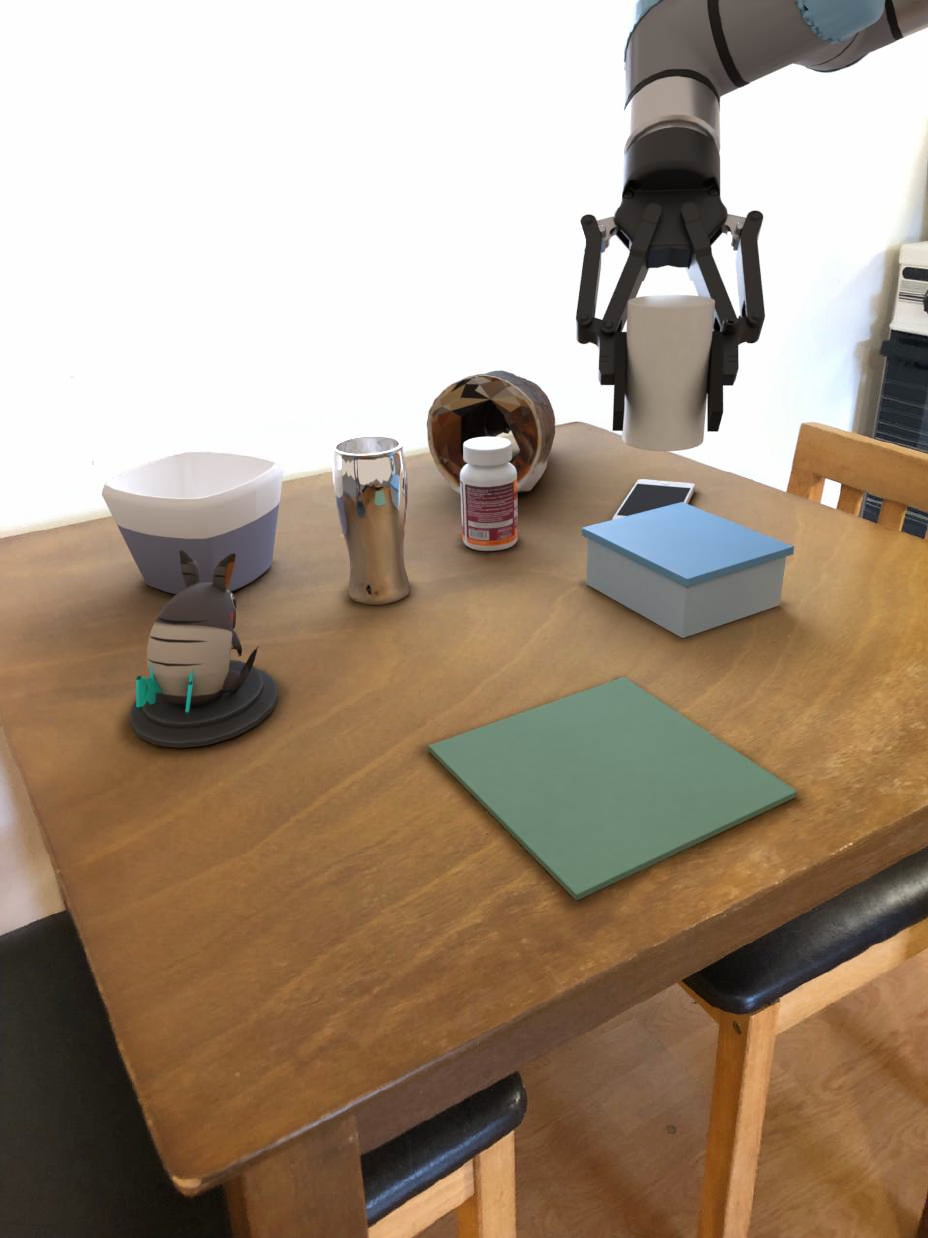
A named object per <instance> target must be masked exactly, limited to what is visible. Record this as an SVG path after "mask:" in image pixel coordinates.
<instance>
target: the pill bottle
mask: <svg viewBox="0 0 928 1238" xmlns="http://www.w3.org/2000/svg"><path fill="white" fill-rule="evenodd" d="M512 446H513V445H512V441H511V440H510V439H508V438H505V437H501V436H496V437H478V438H473V439H469V440H467V441H465V442H464V444H463V459H464V461H465V462H466V463H468V464H466V465H465V466H464V467H463V468H462V470H461V472H460V491H461V494H460V513H461V515H460V516H461V535H462V542H463V544H464V545H465V546H466V547H468V548H469V549H472V550H475V551H479V552H480V551H481V552H496V551H503V550H506V549H509V548H511V547H513V546H514V545H515V544H516V543H517V541H518V538H519V537H518V536H519V535H518V534H519V531H518V529H519V527H518V526H519V525H518V523H519V520H518V517H519V513H518V511H519V510H518V502H519V501H518V494H517V471H516V469H515V467H514V466H513V465H512V464H511V463H509V462H511V461H512V459H513V447H512Z"/></svg>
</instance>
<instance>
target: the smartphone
mask: <svg viewBox="0 0 928 1238" xmlns="http://www.w3.org/2000/svg"><path fill="white" fill-rule="evenodd" d="M695 487H696V485H695V483H694V482H681V481H669V480H657V479H646V478H645V479H643V478H639V479H637V480H636V482H635V483H634V485H633V486H632V488H631V490H630V491H629V492H628V494H627V495H626V497H625V498H624V500H623V501H622V503H621V505H620V506H619V507H618V509H617V510H616V512H615V513H614V515H613V516H612V518H611V520H614V519H618V518H622V517H626V516H630V515H634V514H638V513H641V512H645V511H649V510H653V509H657V508H661V507H665V506H669V505H673V504H677V503H680V502H683V503H686V504H688V505H689V502H690V500H691V499H692V497H693V494H694V493H695Z"/></svg>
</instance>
